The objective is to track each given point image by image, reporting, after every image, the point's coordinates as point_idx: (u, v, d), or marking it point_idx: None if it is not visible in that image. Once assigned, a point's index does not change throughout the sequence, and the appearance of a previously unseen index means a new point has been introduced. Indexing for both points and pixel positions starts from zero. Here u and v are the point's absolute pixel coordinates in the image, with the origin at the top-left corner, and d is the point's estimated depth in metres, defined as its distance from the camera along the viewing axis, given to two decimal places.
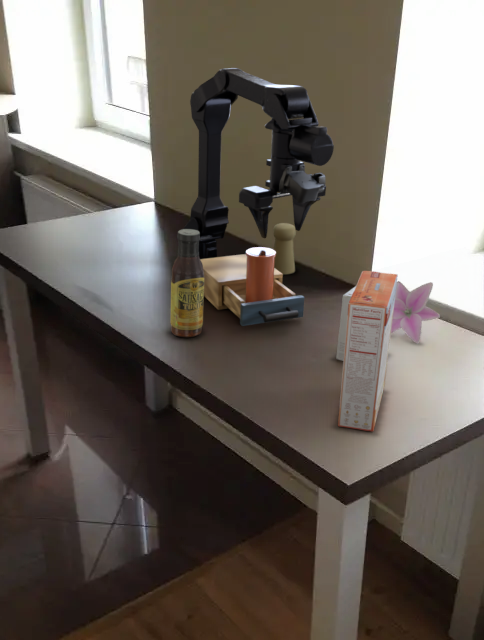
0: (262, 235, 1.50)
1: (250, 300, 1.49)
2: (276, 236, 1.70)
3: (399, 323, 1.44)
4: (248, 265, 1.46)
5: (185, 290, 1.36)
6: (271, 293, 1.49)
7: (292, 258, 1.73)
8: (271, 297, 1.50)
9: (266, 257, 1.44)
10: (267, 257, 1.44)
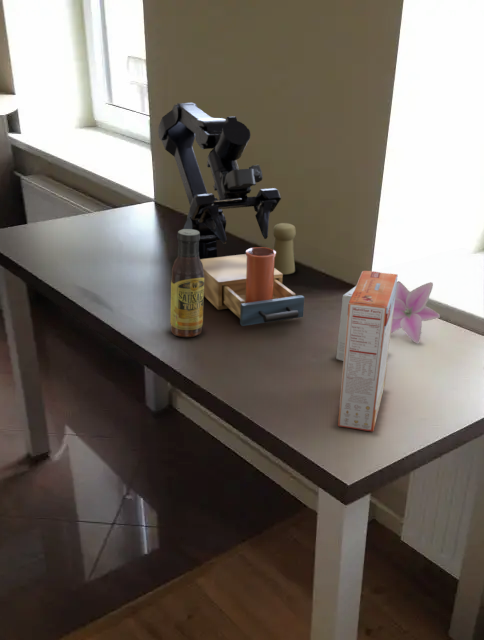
0: (223, 240, 1.51)
1: (250, 300, 1.49)
2: (276, 236, 1.70)
3: (399, 323, 1.44)
4: (248, 265, 1.46)
5: (185, 290, 1.36)
6: (271, 293, 1.49)
7: (292, 258, 1.73)
8: (271, 297, 1.50)
9: (266, 257, 1.44)
10: (267, 257, 1.44)
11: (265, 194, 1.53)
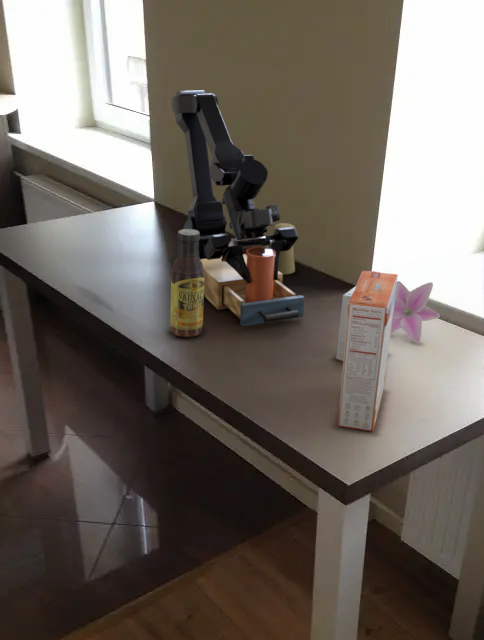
0: (247, 280, 1.47)
1: (250, 300, 1.49)
2: None
3: (399, 323, 1.44)
4: (248, 265, 1.46)
5: (185, 290, 1.36)
6: (271, 293, 1.49)
7: (292, 258, 1.73)
8: (271, 297, 1.50)
9: (266, 257, 1.44)
10: (267, 257, 1.44)
11: (282, 233, 1.49)
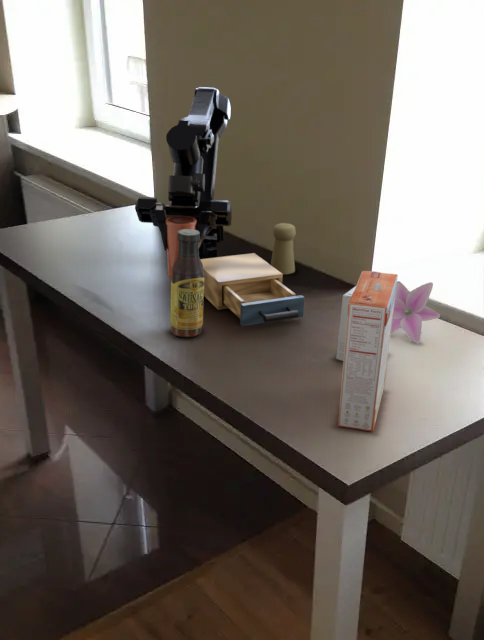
0: (164, 247, 1.45)
1: (168, 268, 1.47)
2: (276, 236, 1.70)
3: (399, 323, 1.44)
4: (167, 232, 1.44)
5: (185, 290, 1.36)
6: None
7: (292, 258, 1.73)
8: None
9: (178, 225, 1.41)
10: (179, 225, 1.41)
11: (211, 205, 1.44)
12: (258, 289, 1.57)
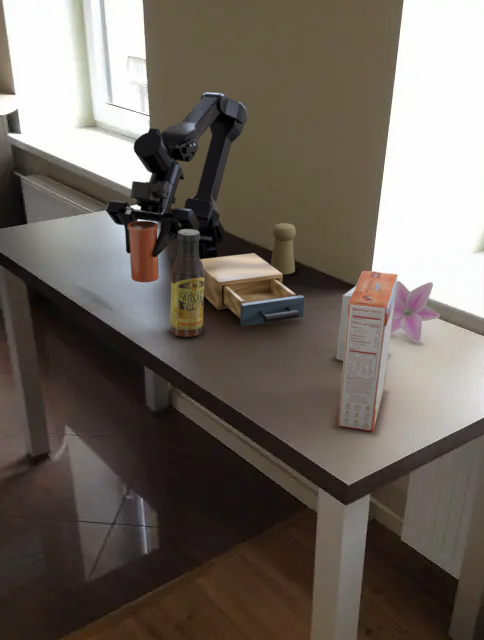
0: None
1: (131, 270, 1.51)
2: (276, 236, 1.70)
3: (399, 323, 1.44)
4: None
5: (185, 290, 1.36)
6: (147, 269, 1.49)
7: (292, 258, 1.73)
8: (147, 273, 1.49)
9: (135, 230, 1.45)
10: (136, 230, 1.45)
11: (173, 213, 1.46)
12: (258, 289, 1.57)
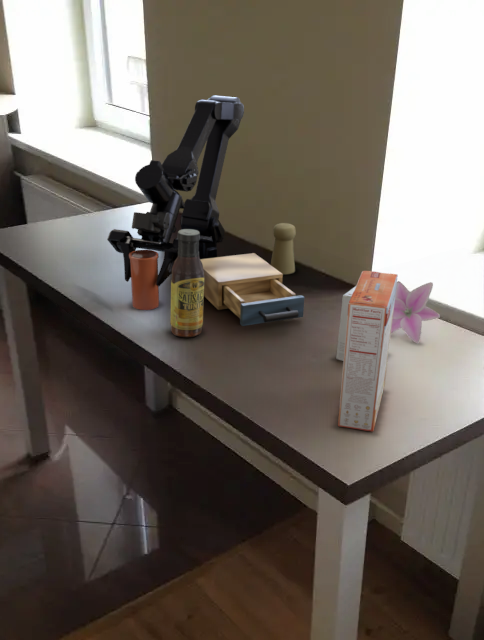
0: None
1: (132, 298, 1.54)
2: (276, 236, 1.70)
3: (399, 323, 1.44)
4: None
5: (185, 290, 1.36)
6: (148, 297, 1.52)
7: (292, 258, 1.73)
8: (148, 301, 1.52)
9: (136, 259, 1.48)
10: (137, 259, 1.47)
11: (174, 243, 1.49)
12: (258, 289, 1.57)
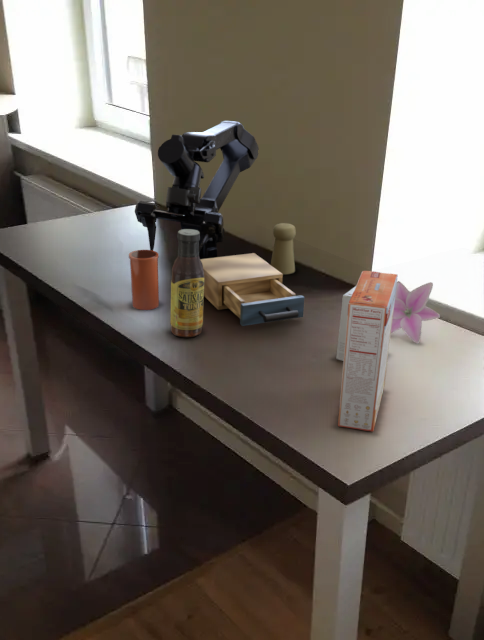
0: (150, 249, 1.58)
1: (132, 298, 1.54)
2: (276, 236, 1.70)
3: (399, 323, 1.44)
4: None
5: (185, 290, 1.36)
6: (148, 297, 1.52)
7: (292, 258, 1.73)
8: (148, 301, 1.52)
9: (136, 259, 1.48)
10: (137, 259, 1.47)
11: (205, 217, 1.56)
12: (258, 289, 1.57)
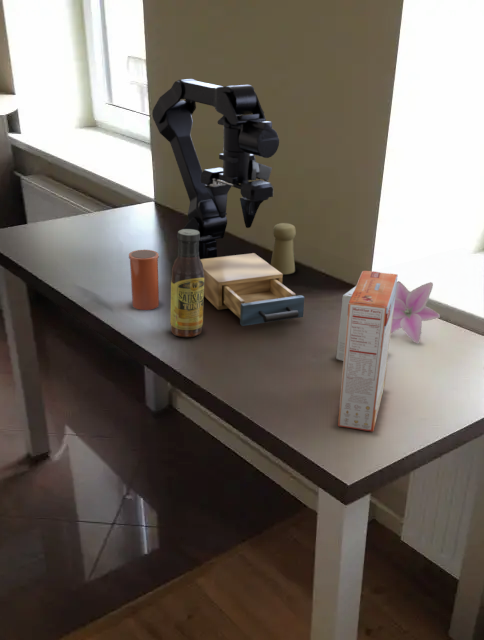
0: (248, 225, 1.60)
1: (132, 298, 1.54)
2: (276, 236, 1.70)
3: (399, 323, 1.44)
4: None
5: (185, 290, 1.36)
6: (148, 297, 1.52)
7: (292, 258, 1.73)
8: (148, 301, 1.52)
9: (136, 259, 1.48)
10: (137, 259, 1.47)
11: None
12: (258, 289, 1.57)
